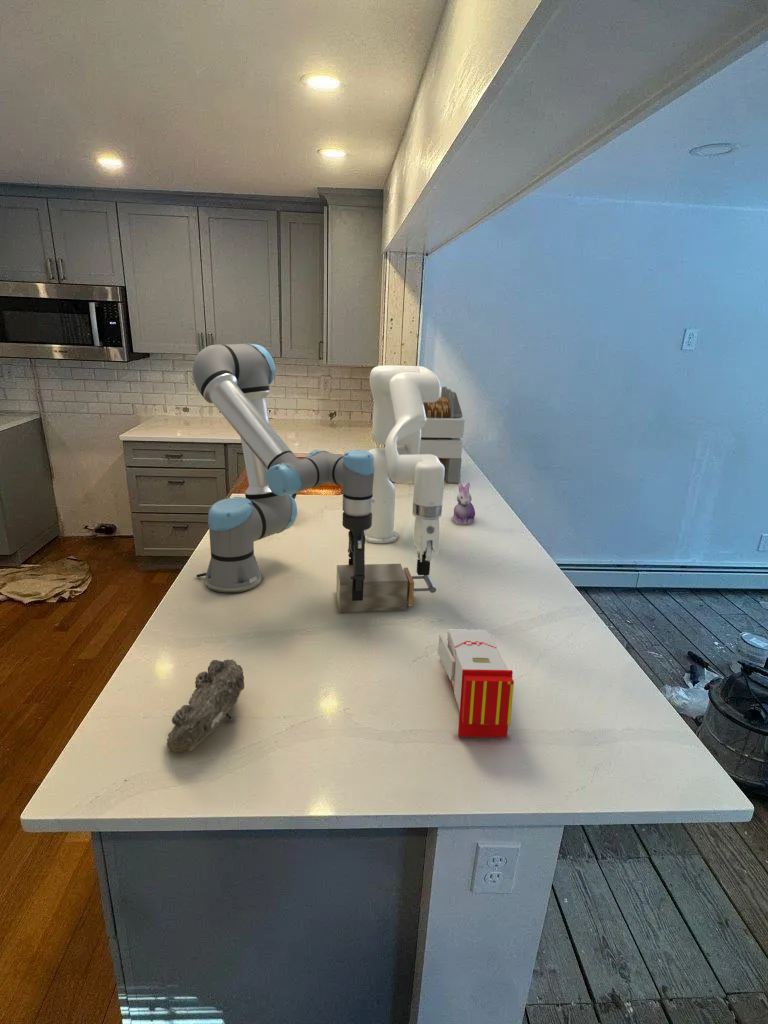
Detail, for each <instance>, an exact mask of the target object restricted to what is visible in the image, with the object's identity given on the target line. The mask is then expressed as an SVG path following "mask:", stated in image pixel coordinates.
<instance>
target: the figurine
mask: <svg viewBox="0 0 768 1024" xmlns="http://www.w3.org/2000/svg"><path fill="white" fill-rule="evenodd" d="M457 485H458V494H457V496H456V501H457V504H456V505H455V506H454V508H453V516H452V521H453V522H454V523H455V524H456V525H460V526H461V525H462V526H466V525H470V524H472V523H473V522H474V520H475V516H476V510H475V509H476V508H475V507H474V505H473V503H472V500H473V498H472V495H471V493H470V488H471V482H470V481H468V482H466V484H465V486H463V484H462V483H461V482H459V483H457Z"/></svg>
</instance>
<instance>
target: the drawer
mask: <svg viewBox="0 0 768 1024" xmlns="http://www.w3.org/2000/svg"><path fill="white" fill-rule="evenodd" d="M403 570H404V573H405V575H406V577H407V580H408V585H407V601H406V604H407V605H408V606H410V607H411V606H413V605H414V592H430V593H431V594H434V593H436V592H437V587H436V586H435V584H434V582H433V579H432V578H431V576H430V574H429V575H412V574H411V571H410V570H409V568H408V567H403ZM414 580H423V581H424V582H425V584H426V586H427V587H425V588H424V587H421V588H415V581H414Z"/></svg>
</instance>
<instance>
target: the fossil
mask: <svg viewBox="0 0 768 1024" xmlns="http://www.w3.org/2000/svg"><path fill="white" fill-rule="evenodd" d="M243 670H244V669H243V667H242V665H240V664H237V662H236V661H235V660H234V659H232V658H231V659H227V658H226V659H224V660H223V661H222V660H217V659H212V660H211V661H210V663H209V665H208V666H207V671H201V672H199V673H198V674H197V675H196V676H195V680H194V684H195V685H194V687H195V689H194V690H193V693H192V694H191V697H190V698H189V700H188V704H184V705H182V706H181V707H180V709H177V710H176V711H175V713H174V715H173V716H172V718H171V723H172V724H173V727H172V730H171V731H170V732H168V734H167V738H166V741H167V742H166V745H167V749H168V750H169V751H173V752H174V753H176V754H178V753H182V752H188V751H189V752H192V751H193V750H195V748H196V747H197V746H199V744H200V743H201V742H203V741H204V740H205V739H206V738H207V737H208V736H209V735H210V734H211V733H212V732H214V730H215V729H217V727H218V726H219V724H220V722H221V721H222V720H223V719H224V718H225V716H226V717H227V719H229V720H233V717H232V715H230V714H229V710H230V709H231V708H234V706H235V704H236V703H237V702H238V699H239V697H240V695H241V693H242V691H243V690H245V689H244V688H245V675H244V671H243Z"/></svg>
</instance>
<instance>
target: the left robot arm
mask: <svg viewBox="0 0 768 1024" xmlns="http://www.w3.org/2000/svg"><path fill="white" fill-rule="evenodd" d="M275 376H276V365H275V361H274V359H273V357H272V355H271V354H270V351H268V350H267V349H266V348H265V347H264V346H262V345H260V344H255V343H248V342H247V343H233V344H230V343H228V344H211V345H208V346H206V347H204V348H202V349H201V350H200V351H199V352H198V353H197V355H196V357H195V358H194V361H193V364H192V378H193V382H194V385H195V387H196V389H197V390H198V392H199V394H200V395H201V396H202V398H203V399H204V400H205V402H207V403H209V404H213V405H214V406H215V408H217V410H218V412H220V413H221V415H222V416H223V418H225V420H226V421H227V423H229V424H230V426H231V427H232V428H233V430H234V431H235V432H236V433H237V434H238V436H239V437H240V442H241V448H242V453H243V460H244V465H245V470H246V476H247V483H248V487H247V489H245V491H244V496H245V497H244V496H234V497H227V498H226V497H225V498H223V499H220V500H218V501H216V502H215V503H213V504H212V505H211V506H210V508H209V509H208V520H207V525H208V531H209V533H208V534H209V547H210V549H209V550H210V560H209V563H208V566H207V570H206V572H202V573H198V574H196V578H202V577H205V584H206V587H208V589H210V590H211V591H214V592H216V593H222V594H237V593H244V592H247V591H250V590H252V589H254V588H256V587H258V586H259V585H260V584H261V582H262V572H261V568H260V566H259V564H258V561H257V558H256V556H255V542H257V541H259V540H261V539H265V538H267V537H270V536H274V535H277V534H280V533H282V532H284V531H285V530H288V529H290V528H291V527H292V526H293V525H294V523H295V522H296V519H297V516H298V506H297V501H296V498H295V499H294V498H292V495H291V494H295V493H297V494H298V493H299V492H302V491H305V490H308V489H313V488H316V487H319V486H322V485H325V484H333V485H337V486H339V487H342V508H341V509H342V511H343V512H342V522H341V523H342V526H343V528H344V529H346V530H348V533H347V534H348V547H347V553H348V565H353V571H354V576H351V579H353V586H352V601H362V600H363V582H364V580H365V564H366V561H365V559H366V558H365V555H366V554H365V550H366V547H365V546H366V540H365V535H364V530H367V529H369V528H370V527H371V526H372V513H371V511H372V503H374V502H375V500H374V499H373V479H374V457H373V455H372V454H371V453H370V452H368V451H369V450H368V451H367V450H361V449H350V450H347V451H345V452H344V454H343V455H342V454H337V453H333V452H329V451H327V450H319V449H318V450H317V449H316V450H315V449H314V450H311V451H310V452H309V453H308V454H307V455H306V456H305V457H304V458H298V457H297V456H296V454H295V453H294V452H293V451H292V450H291V449H290V447H289V446H288V445H287V444H286V442H285V441H284V440H283V439H282V438H281V436H280V435H279V434H278V433H277V432H276V431H275V430H274V428H273V427H272V426H271V424H270V417H269V411H268V405H267V400H266V398H267V396H268V395H269V394H270V392H271V390H270V389H271V388H270V385H271V384H272V383H273V382H274V379H275V378H274V377H275Z"/></svg>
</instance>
